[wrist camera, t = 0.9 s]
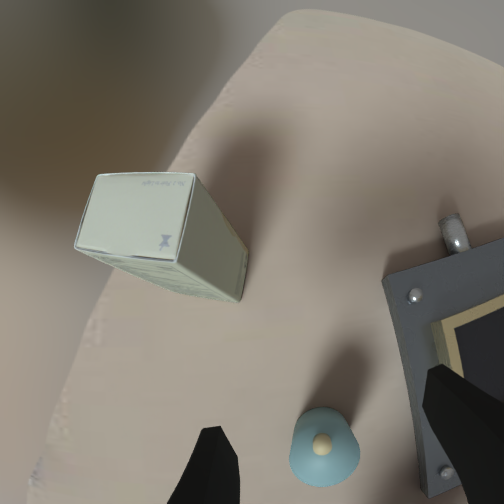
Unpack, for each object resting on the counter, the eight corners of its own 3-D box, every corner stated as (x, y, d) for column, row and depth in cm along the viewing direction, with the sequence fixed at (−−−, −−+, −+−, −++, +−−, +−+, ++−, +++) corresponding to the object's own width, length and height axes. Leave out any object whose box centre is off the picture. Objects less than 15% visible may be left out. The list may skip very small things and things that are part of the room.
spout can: (351, 448, 20) (368, 484, 13) (299, 460, 20) (294, 500, 13) (342, 401, 21) (357, 422, 14) (289, 413, 21) (281, 439, 14)
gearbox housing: (545, 420, 16) (570, 425, 12) (421, 489, 17) (437, 508, 13) (499, 208, 23) (520, 189, 19) (370, 244, 24) (380, 225, 20)
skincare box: (250, 250, 25) (204, 169, 14) (240, 306, 24) (180, 265, 13) (177, 242, 27) (96, 169, 15) (166, 293, 26) (70, 248, 14)
